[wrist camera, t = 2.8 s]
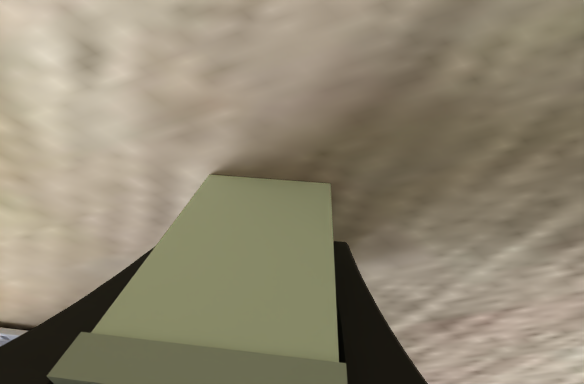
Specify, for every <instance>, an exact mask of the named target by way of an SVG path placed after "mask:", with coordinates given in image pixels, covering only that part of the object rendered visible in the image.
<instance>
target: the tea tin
mask: <svg viewBox="0 0 584 384" xmlns="http://www.w3.org/2000/svg"><path fill="white" fill-rule="evenodd" d="M47 377H48V378H49V379H50V380H51V381H52V382H53V383H54V384H347V370H346V363H340V362H339V351H338V330H337V309H336V288H335V266H334V245H333V224H332V203H331V184H330V183H317V182H303V181H290V180H277V179H263V178H250V177H236V176H223V175H210V174H209V176H208V177H207V178H206V180H205V181H204V182H203V184H202V185H201V186H200V188H199V189H198V190H197V192H196V193H195V194H194V196H193V197H192V198H191V200H190V201H189V202H188V204H187V205H186V206H185V208H184V209H183V210H182V212H181V213H180V214H179V216H178V217H177V218H176V220H175V221H174V222H173V224H172V225H171V226H170V228H169V229H168V230H167V232H166V233H165V234H164V236H163V237H162V238H161V240H160V241H159V242H158V244H157V245H156V247H155V248H154V249H153V251H152V252H151V253H150V255H149V256H148V257H147V259H146V260H145V261H144V263H143V264H142V265H141V267H140V268H139V269H138V271H137V272H136V273H135V275H134V276H133V277H132V279H131V280H130V281H129V283H128V284H127V285H126V287H125V288H124V289H123V291H122V292H121V293H120V295H119V296H118V297H117V299H116V300H115V301H114V303H113V304H112V305H111V307H110V308H109V309H108V311H107V312H106V313H105V315H104V316H103V317H102V319H101V320H100V321H99V323H98V324H97V325H96V327H95V328H94V329H93V331H92V332H91V333H87V332H81V333H80V334H79V335H78V336H77V338H76V339H75V340H74V342H73V343H72V344H71V345H70V347H69V348H68V349H67V351H66V352H65V353H64V354H63V356H62V357H61V358H60V359H59V361H58V362H57V363H56V365H55V366H54V367H53V368H52V370H51V371H50V372H49V374H48V375H47Z"/></svg>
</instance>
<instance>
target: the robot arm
mask: <svg viewBox="0 0 584 384" xmlns="http://www.w3.org/2000/svg"><path fill="white" fill-rule="evenodd" d="M333 245H334V266H335V288H336V309H337V330H338V351H339V362H340V363H346V370H347V384H428V383H427V382H426V381H425V379H424V378H423V377H422V375H421V374H420V372H419V371H418V370H417V368H416V367H415V365H414V364H413V362H412V361H411V359H410V358H409V356H408V355H407V354H406V352H405V351H404V349H403V348H402V346H401V344H400V343H399V341H398V340H397V338H396V337H395V335H394V334H393V332H392V330H391V329H390V327H389V325H388V324H387V322H386V320H385V319H384V317H383V315H382V314H381V312H380V310H379V308H378V307H377V305H376V303H375V301H374V299H373V297H372V295H371V294H370V292H369V290H368V288H367V286H366V284H365V282H364V280H363V278H362V276H361V274H360V272H359V270H358V267H357V265H356V263H355V261H354V258H353V256H352V253H351V251H350V248H349V245H348V244H347V243H346V242H336V241H333ZM155 247H156V246H155ZM155 247H154V248H155ZM154 248H152V249H151V250H150V251H148V252H147V253H146V254H144V255H143V256H142V257H140V258H139V259H138V260H136V261H135V262H134V263H132V264H131V265H130V266H128V267H127V268H126V269H124V270H123V271H122V272H120V273H119V274H117V275H116V276H114V277H113V278H111V279H110V280H109V281H107V282H106V283H104V284H103V285H101V286H100V287H98V288H97V289H96V290H94V291H93V292H91V293H90V294H88V295H87V296H85V297H84V298H82V299H81V300H79V301H78V302H76V303H74V304H73V305H71V306H70V307H68V308H67V309H65V310H63V311H62V312H60V313H58V314H57V315H55V316H53V317H52V318H50V319H48V320H47V321H45V322H43V323H42V324H40V325H38V326H37V327H35V328H33V329H31V330H30V331H27V330H18V329H10V328H2V327H0V384H54V383H53V382H52V381H51V380H50V379H49V378H48V377H47V375H48V374H49V372H50V371H51V370H52V368H53V367H54V366H55V365H56V363H57V362H58V361H59V359H60V358H61V357H62V356H63V354H64V353H65V352H66V351H67V349H68V348H69V347H70V345H71V344H72V343H73V342H74V340H75V339H76V338H77V336H78V335H79V334H80V333H81V332H87V333H91V332H92V331H93V329H94V328H95V327H96V325H97V324H98V323H99V321H100V320H101V319H102V317H103V316H104V315H105V313H106V312H107V311H108V309H109V308H110V307H111V305H112V304H113V303H114V301H115V300H116V299H117V297H118V296H119V295H120V293H121V292H122V291H123V289H124V288H125V287H126V285H127V284H128V283H129V281H130V280H131V279H132V277H133V276H134V275H135V273H136V272H137V271H138V269H139V268H140V267H141V265H142V264H143V263H144V261H145V260H146V259H147V257H148V256H149V255H150V253H151V252H152V251H153V249H154Z"/></svg>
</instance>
